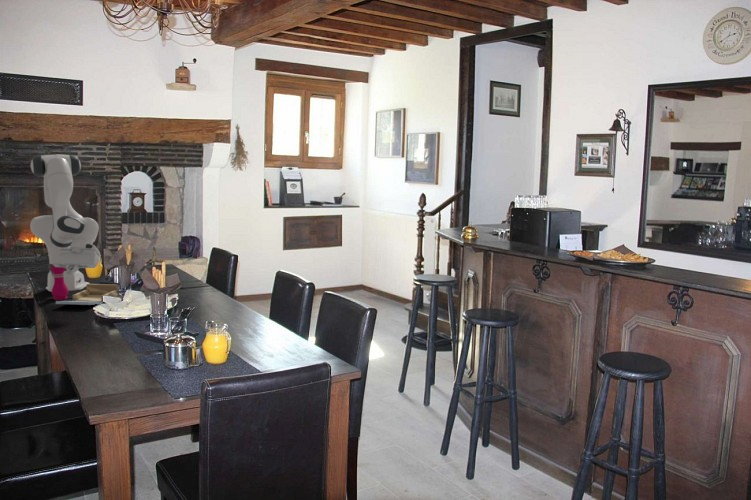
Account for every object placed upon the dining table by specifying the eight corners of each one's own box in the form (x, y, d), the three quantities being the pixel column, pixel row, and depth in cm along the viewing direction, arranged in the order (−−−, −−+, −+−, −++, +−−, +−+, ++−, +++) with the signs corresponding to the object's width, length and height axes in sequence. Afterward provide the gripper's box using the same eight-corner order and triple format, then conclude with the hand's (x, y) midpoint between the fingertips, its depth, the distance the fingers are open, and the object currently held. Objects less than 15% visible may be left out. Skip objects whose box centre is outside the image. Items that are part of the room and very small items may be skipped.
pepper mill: (72, 299, 319) (69, 259, 316) (63, 303, 312) (60, 261, 309) (57, 299, 320) (54, 258, 317) (49, 302, 313) (45, 261, 310)
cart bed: (88, 297, 323) (87, 283, 322) (118, 298, 322) (117, 284, 320) (73, 304, 309) (72, 290, 308) (104, 305, 308) (103, 290, 307)
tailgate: (72, 300, 309) (55, 301, 295) (104, 301, 307) (88, 302, 294) (71, 303, 309) (55, 303, 295) (104, 304, 307) (88, 304, 294)
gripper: (55, 244, 299) (44, 269, 291) (98, 245, 297) (87, 271, 289) (61, 252, 304) (50, 277, 296) (103, 253, 302) (93, 279, 294)
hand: (69, 274), depth 292 cm, fingers closed
